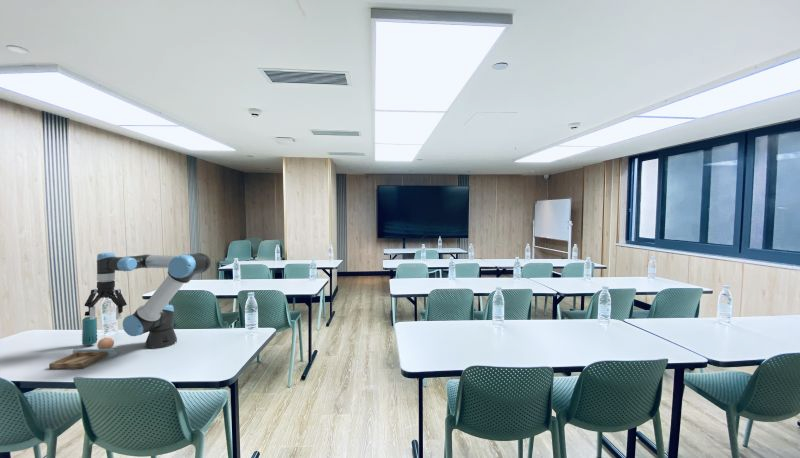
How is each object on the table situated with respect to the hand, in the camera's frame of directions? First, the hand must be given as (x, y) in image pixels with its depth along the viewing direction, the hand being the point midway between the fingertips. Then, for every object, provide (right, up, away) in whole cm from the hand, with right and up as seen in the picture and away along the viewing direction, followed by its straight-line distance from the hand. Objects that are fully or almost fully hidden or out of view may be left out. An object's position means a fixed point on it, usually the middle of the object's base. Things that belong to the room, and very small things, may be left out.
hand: (105, 318), depth 184 cm
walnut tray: (+1, -18, -16) cm, 24 cm away
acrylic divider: (0, -18, -8) cm, 19 cm away
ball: (0, -18, 0) cm, 18 cm away
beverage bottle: (-15, -17, +6) cm, 24 cm away
